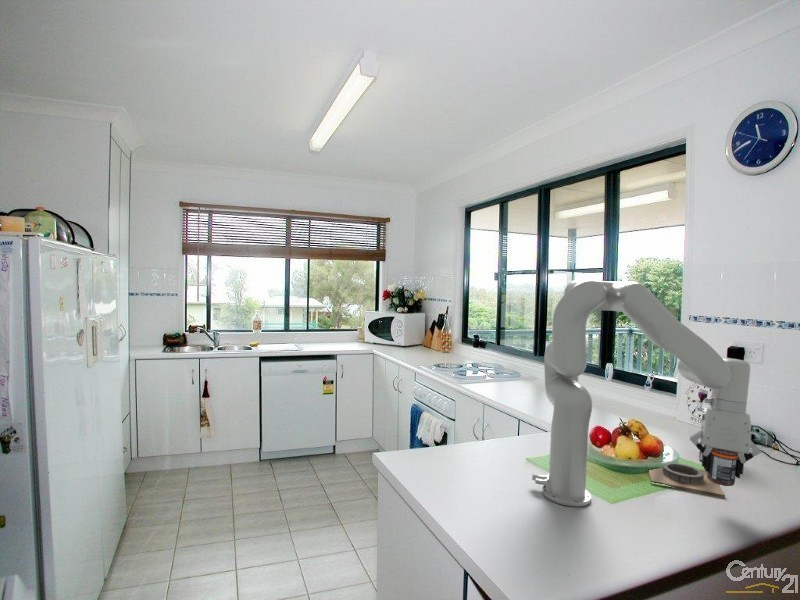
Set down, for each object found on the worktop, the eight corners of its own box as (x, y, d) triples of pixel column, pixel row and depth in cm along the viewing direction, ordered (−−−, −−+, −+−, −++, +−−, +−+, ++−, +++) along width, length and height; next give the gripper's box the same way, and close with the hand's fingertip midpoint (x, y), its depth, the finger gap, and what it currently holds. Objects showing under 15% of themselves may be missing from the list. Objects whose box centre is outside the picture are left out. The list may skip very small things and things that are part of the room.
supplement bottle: (707, 475, 122) (712, 434, 121) (734, 482, 118) (739, 440, 118) (705, 481, 117) (709, 439, 117) (733, 489, 113) (738, 445, 113)
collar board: (651, 484, 132) (651, 474, 132) (646, 462, 148) (646, 454, 148) (724, 498, 124) (725, 487, 124) (711, 474, 140) (711, 465, 140)
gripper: (691, 402, 117) (685, 469, 118) (774, 415, 110) (766, 486, 110) (687, 397, 124) (681, 460, 124) (764, 408, 116) (757, 475, 117)
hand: (721, 472), depth 117 cm, fingers closed on supplement bottle, 6 cm apart
